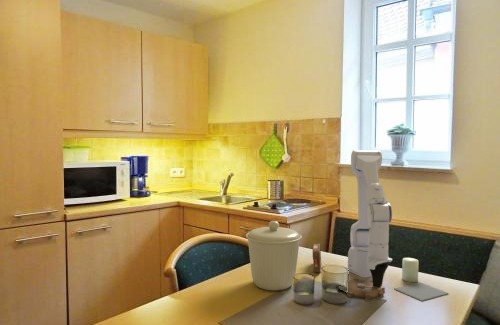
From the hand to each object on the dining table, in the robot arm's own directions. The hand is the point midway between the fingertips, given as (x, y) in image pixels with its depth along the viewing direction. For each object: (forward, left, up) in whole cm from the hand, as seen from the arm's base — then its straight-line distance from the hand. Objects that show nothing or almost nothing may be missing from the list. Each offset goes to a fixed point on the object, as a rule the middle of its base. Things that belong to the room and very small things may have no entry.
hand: (377, 286), depth 115 cm
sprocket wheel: (-4, -3, -2) cm, 5 cm away
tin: (-28, -2, -3) cm, 28 cm away
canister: (-21, -25, -3) cm, 33 cm away
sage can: (-4, +19, -2) cm, 19 cm away
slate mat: (+5, +13, -2) cm, 14 cm away
